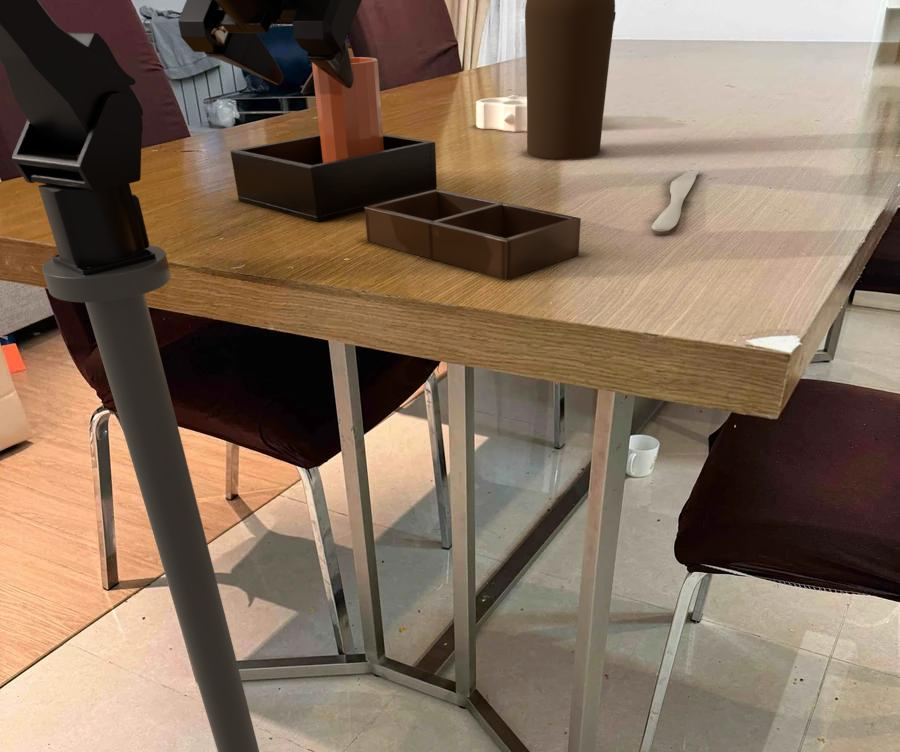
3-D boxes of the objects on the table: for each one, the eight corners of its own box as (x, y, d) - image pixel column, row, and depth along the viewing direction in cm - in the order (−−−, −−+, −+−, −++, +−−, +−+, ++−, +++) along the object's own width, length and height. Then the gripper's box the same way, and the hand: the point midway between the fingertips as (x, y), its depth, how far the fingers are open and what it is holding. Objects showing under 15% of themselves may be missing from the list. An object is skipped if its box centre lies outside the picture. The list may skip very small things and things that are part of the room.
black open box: (317, 222, 85) (310, 167, 81) (238, 201, 93) (229, 150, 90) (437, 192, 93) (435, 141, 90) (355, 175, 102) (351, 128, 99)
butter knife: (640, 226, 77) (674, 226, 76) (678, 169, 97) (705, 169, 96) (640, 233, 77) (673, 232, 76) (678, 175, 97) (704, 174, 96)
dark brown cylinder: (558, 164, 103) (569, -100, 88) (506, 152, 110) (508, -94, 95) (621, 152, 108) (643, -101, 93) (567, 142, 115) (579, -95, 100)
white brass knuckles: (607, 119, 129) (584, 135, 118) (496, 116, 134) (464, 132, 124) (608, 93, 127) (585, 108, 116) (496, 92, 132) (464, 105, 122)
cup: (388, 190, 92) (379, 62, 85) (326, 195, 92) (312, 65, 84) (383, 178, 98) (374, 56, 90) (325, 181, 97) (311, 59, 90)
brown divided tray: (506, 280, 68) (506, 241, 66) (367, 241, 78) (363, 206, 76) (578, 254, 73) (581, 217, 71) (438, 221, 83) (437, 188, 81)
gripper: (337, -150, 67) (420, 10, 81) (173, -132, 75) (275, 10, 89) (286, -25, 67) (378, 114, 81) (127, -20, 75) (236, 105, 89)
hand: (315, 82), depth 85 cm, fingers open, 9 cm apart
